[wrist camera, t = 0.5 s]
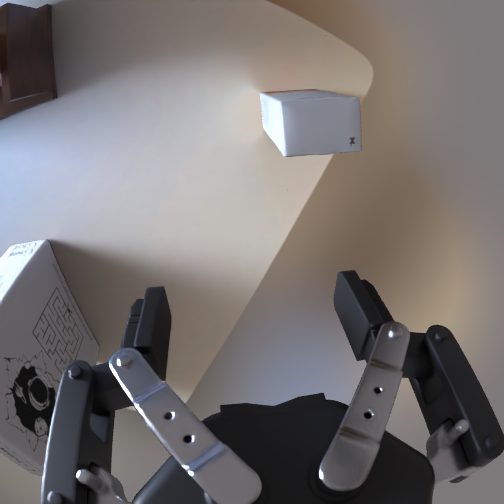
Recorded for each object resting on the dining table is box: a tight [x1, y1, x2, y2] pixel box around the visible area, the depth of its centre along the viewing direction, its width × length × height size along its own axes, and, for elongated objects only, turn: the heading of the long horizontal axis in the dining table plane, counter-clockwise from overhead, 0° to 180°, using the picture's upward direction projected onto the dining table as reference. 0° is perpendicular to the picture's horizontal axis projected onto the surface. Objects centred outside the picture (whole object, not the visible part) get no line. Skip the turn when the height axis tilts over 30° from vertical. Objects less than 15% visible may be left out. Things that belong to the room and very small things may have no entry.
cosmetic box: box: [260, 89, 362, 157], centre depth 25 cm, size 6×4×12 cm
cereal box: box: [0, 239, 100, 477], centre depth 30 cm, size 22×8×25 cm, turn 4°
